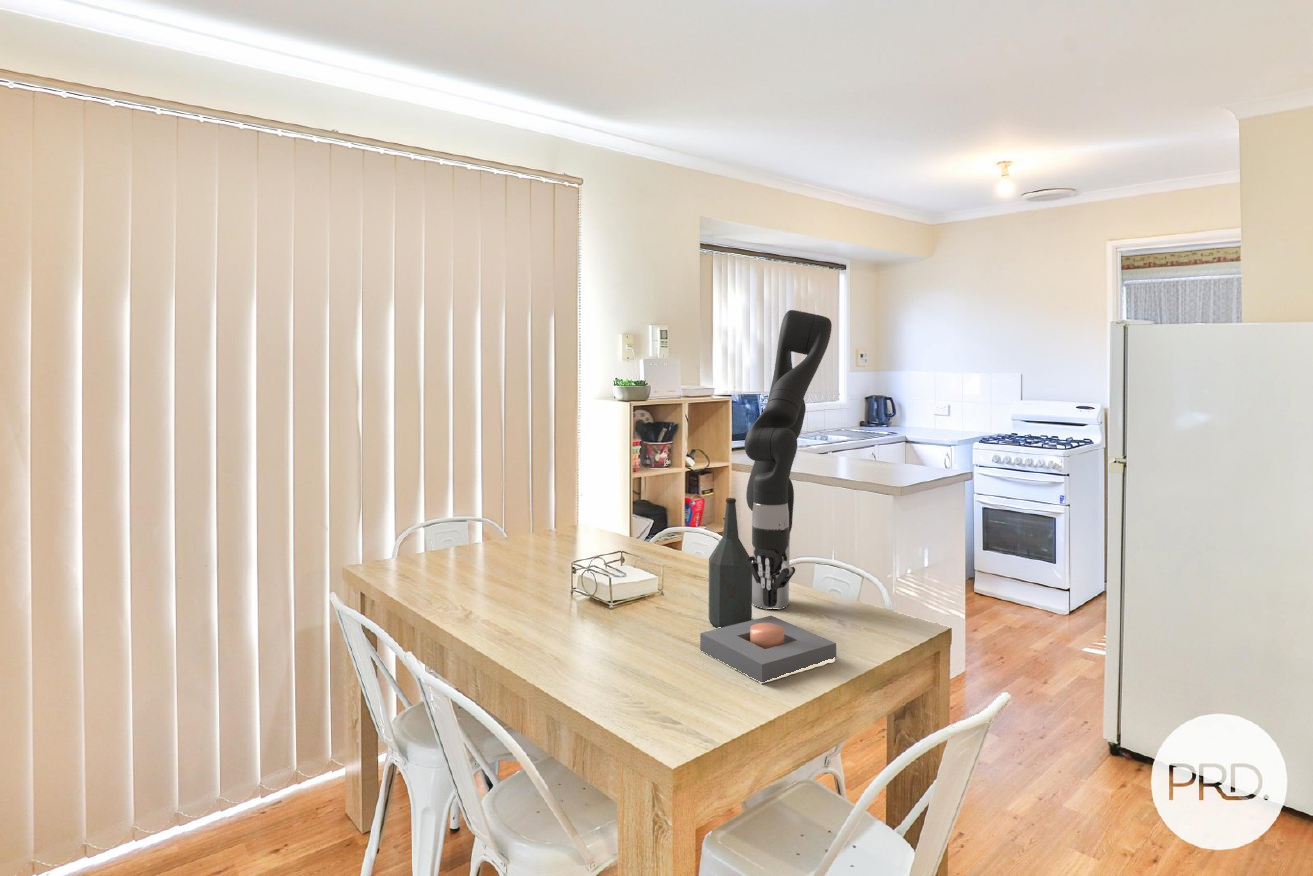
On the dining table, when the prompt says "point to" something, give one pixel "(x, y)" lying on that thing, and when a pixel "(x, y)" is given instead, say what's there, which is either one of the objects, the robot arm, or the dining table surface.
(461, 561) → the dining table surface
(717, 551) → the bottle
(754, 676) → the button box
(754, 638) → the button cap
